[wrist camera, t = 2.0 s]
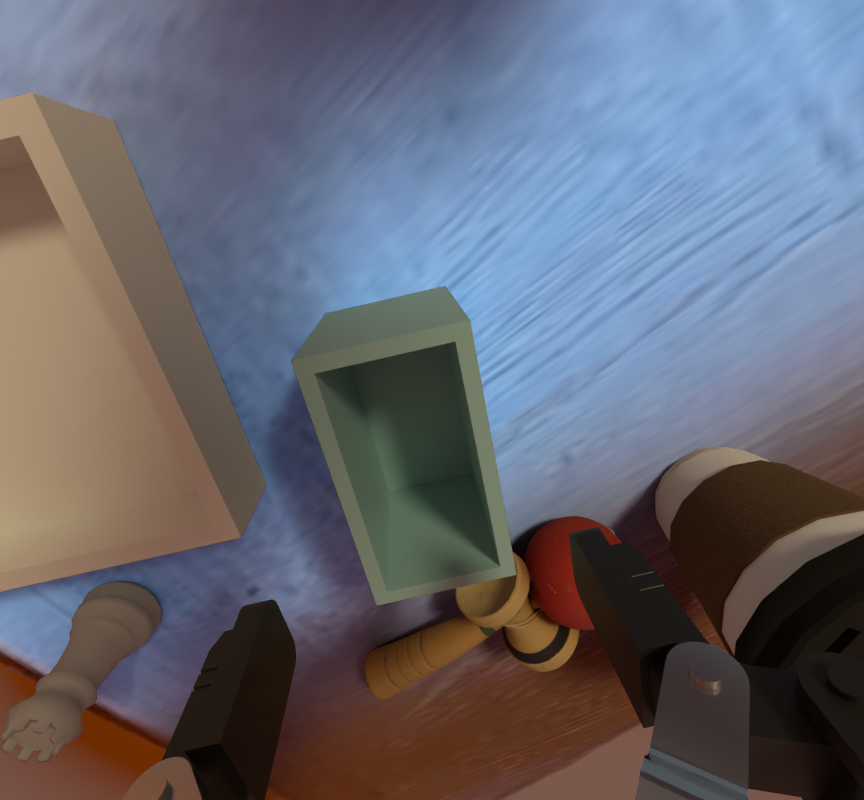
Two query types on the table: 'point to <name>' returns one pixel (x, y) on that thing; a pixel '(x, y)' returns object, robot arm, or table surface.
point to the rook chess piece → (82, 668)
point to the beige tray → (101, 366)
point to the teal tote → (408, 443)
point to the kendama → (500, 616)
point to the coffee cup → (767, 555)
